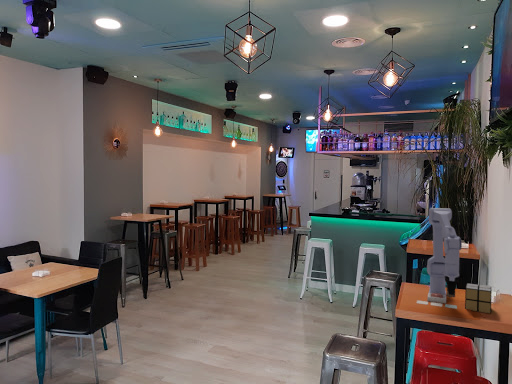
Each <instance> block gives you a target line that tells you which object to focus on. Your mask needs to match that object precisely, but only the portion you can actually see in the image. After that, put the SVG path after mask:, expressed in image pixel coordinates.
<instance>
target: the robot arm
mask: <svg viewBox="0 0 512 384" xmlns="http://www.w3.org/2000/svg"><path fill="white" fill-rule="evenodd" d="M452 218H453V211H452V209H451V208H450V207H449V208H445V207H444V208H441V207H430V208H429V210H428V222H429V223H428V224H430V225H431V226H432V246H433V247H432V249H433V250H432V251H433V252H432V253H433V254H432V256H431V257H430V258H428V259H427V263H426V264H427V266H426V272H427V274H428V275H429V289H428V290H429V291H428V293H440V294H443V295H446V296H447V289H446V288H447V287H448V293H449V295H454V293H455V294H456V289H457V286H458V284H459V277H460V251H461V250H462V245H463V244H462V243H463V242H462V239H461V237H460V236H458V235H457V233H456V229H455V228H454V227H453V226H452V225H451V222H450V221H451V220H452ZM444 256H445V257H444Z"/></svg>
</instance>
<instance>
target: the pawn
mask: <svg viewBox="0 0 512 384" xmlns="http://www.w3.org/2000/svg"><path fill="white" fill-rule="evenodd" d="M446 297H448V298H456V292H455V293H454V295H449V293H448V287H447V286H446Z"/></svg>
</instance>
